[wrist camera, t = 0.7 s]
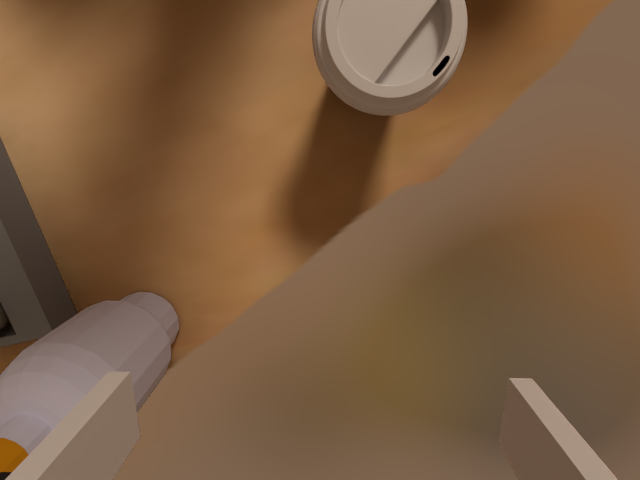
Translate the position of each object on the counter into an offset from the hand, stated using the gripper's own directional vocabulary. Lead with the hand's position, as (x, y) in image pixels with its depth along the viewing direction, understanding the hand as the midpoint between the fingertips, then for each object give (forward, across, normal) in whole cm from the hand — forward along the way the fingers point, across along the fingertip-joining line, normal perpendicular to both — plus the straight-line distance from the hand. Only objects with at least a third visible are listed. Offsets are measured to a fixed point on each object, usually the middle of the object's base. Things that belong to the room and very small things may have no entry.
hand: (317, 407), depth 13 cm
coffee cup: (+28, +4, +15) cm, 32 cm away
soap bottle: (+28, -20, -11) cm, 36 cm away
